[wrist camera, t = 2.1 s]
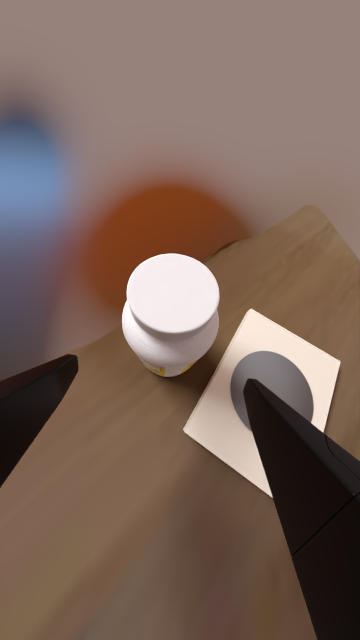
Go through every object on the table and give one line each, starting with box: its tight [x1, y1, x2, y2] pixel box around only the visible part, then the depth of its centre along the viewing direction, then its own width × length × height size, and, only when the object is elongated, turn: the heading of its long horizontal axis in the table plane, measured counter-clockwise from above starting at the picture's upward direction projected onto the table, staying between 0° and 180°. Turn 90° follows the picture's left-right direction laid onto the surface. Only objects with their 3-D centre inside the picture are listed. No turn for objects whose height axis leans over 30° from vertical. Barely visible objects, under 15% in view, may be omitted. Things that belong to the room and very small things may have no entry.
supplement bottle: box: [122, 254, 220, 377], centre depth 14 cm, size 7×7×13 cm
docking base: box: [183, 309, 340, 498], centre depth 19 cm, size 16×12×1 cm
